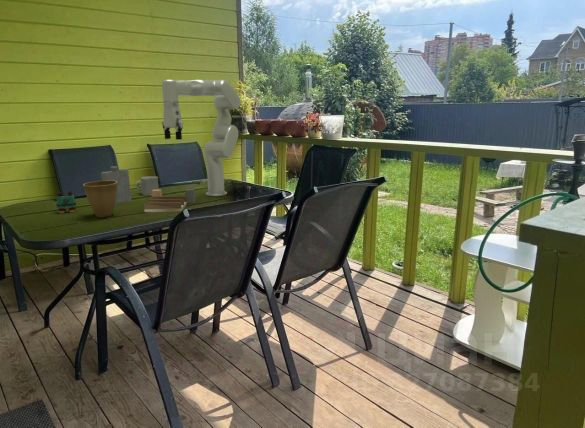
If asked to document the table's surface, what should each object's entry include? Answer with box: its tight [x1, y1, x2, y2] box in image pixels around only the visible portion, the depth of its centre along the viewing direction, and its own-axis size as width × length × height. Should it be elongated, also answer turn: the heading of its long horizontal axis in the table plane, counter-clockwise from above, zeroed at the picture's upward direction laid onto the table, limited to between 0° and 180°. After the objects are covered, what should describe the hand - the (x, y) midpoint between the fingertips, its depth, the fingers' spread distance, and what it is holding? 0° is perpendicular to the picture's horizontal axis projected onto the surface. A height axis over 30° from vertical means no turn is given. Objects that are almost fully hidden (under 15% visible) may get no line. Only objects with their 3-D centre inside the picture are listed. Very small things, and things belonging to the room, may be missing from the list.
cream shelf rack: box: [143, 195, 188, 213], centre depth 226 cm, size 18×18×4 cm
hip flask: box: [100, 165, 132, 205], centre depth 238 cm, size 16×4×20 cm, turn 146°
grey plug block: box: [184, 188, 196, 204], centre depth 240 cm, size 4×4×7 cm
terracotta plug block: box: [151, 189, 163, 198], centre depth 239 cm, size 4×4×7 cm
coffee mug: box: [135, 175, 160, 196], centre depth 264 cm, size 13×10×10 cm
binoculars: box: [56, 190, 77, 214], centre depth 220 cm, size 9×11×10 cm
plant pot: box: [82, 180, 117, 218], centre depth 209 cm, size 15×15×16 cm
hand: (173, 139), depth 226 cm, fingers open, 9 cm apart
